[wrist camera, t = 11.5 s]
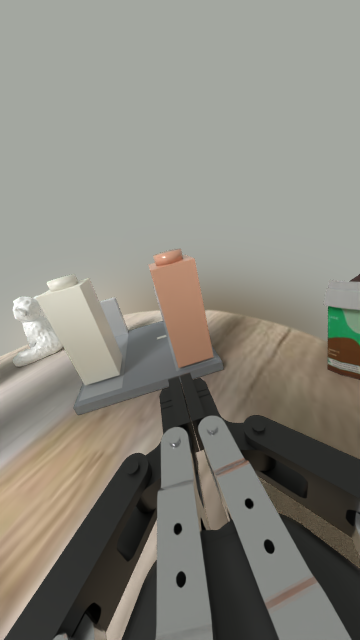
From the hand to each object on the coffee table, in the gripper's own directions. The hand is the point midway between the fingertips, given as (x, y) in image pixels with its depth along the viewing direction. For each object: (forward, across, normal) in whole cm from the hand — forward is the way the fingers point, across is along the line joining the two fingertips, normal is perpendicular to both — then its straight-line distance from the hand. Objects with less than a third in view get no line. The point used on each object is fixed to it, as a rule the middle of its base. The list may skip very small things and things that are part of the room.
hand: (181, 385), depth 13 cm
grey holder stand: (+18, +4, +7) cm, 19 cm away
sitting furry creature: (+30, +25, +8) cm, 40 cm away
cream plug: (+14, +10, +6) cm, 18 cm away
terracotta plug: (+12, -2, +6) cm, 14 cm away
